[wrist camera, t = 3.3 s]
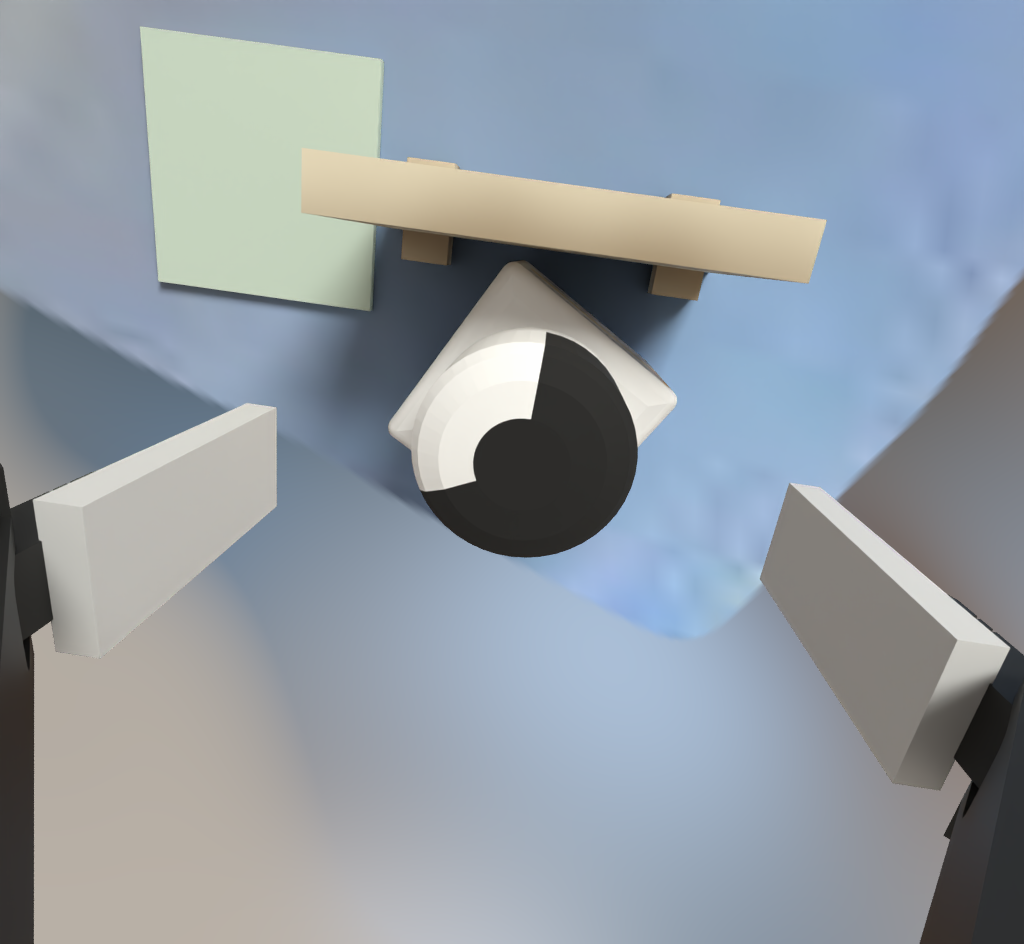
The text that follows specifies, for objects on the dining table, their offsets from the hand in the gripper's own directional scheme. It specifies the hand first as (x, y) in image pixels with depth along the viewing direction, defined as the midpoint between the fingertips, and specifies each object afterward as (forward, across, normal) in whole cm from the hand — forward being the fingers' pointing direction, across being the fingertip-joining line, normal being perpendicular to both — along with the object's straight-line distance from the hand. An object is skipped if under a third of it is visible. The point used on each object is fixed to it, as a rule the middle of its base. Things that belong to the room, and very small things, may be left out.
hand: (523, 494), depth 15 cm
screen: (+14, 0, +7) cm, 16 cm away
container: (+14, 0, 0) cm, 15 cm away
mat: (+14, -13, +8) cm, 21 cm away
